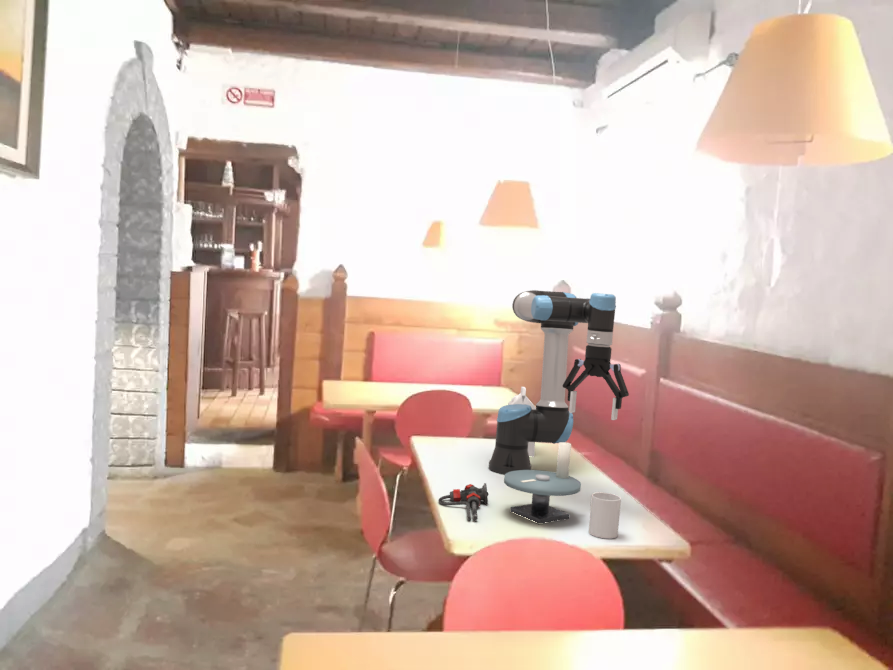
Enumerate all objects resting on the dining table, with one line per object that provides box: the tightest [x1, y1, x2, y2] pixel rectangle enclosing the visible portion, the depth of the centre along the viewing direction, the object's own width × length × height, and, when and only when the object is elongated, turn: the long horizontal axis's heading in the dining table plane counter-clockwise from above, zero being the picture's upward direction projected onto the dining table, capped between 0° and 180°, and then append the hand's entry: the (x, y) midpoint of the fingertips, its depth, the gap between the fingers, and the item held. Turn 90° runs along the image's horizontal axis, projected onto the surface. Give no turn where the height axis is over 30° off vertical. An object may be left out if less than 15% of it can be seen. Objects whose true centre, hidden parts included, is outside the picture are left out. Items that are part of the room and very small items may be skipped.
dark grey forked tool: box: [438, 482, 489, 521], centre depth 226 cm, size 6×26×15 cm
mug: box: [588, 491, 622, 540], centre depth 213 cm, size 12×8×10 cm, turn 8°
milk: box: [507, 386, 536, 458], centre depth 307 cm, size 12×12×26 cm
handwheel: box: [503, 441, 582, 497], centre depth 223 cm, size 22×22×12 cm
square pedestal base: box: [509, 494, 570, 524], centre depth 224 cm, size 12×12×9 cm
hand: (592, 416), depth 232 cm, fingers open, 13 cm apart
